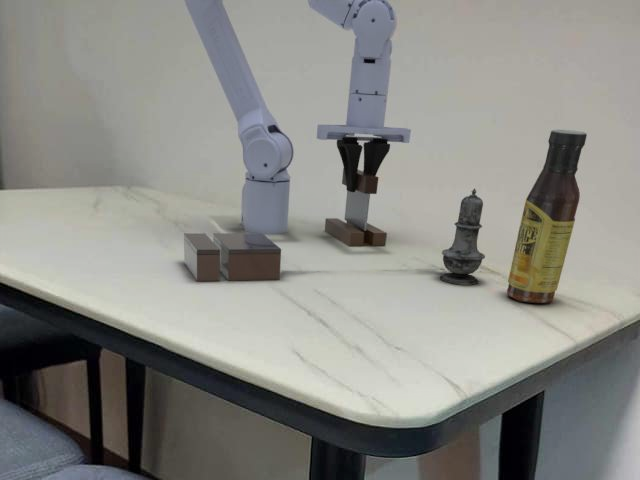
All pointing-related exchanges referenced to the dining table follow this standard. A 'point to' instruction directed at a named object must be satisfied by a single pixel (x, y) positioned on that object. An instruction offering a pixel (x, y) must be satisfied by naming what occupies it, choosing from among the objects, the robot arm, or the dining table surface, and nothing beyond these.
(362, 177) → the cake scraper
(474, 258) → the salt shaker
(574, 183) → the sauce bottle
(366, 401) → the dining table surface
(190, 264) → the brown rectangular block
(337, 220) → the knife stand
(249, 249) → the brown lidded box
